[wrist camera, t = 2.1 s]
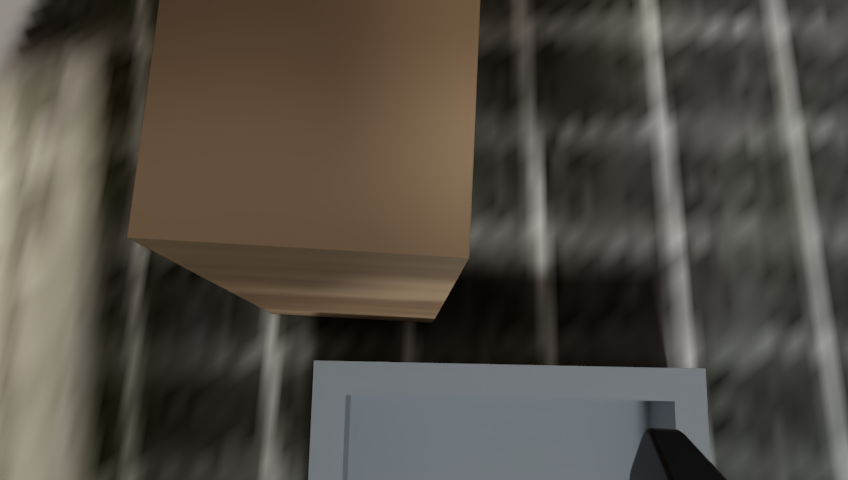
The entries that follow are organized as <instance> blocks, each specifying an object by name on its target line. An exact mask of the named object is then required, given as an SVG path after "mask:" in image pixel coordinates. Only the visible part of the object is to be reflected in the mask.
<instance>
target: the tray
mask: <svg viewBox="0 0 848 480" xmlns="http://www.w3.org/2000/svg"><path fill="white" fill-rule="evenodd" d="M648 428H667V429H677V430H679V431H681V432H682V433H684V434H685V435H686V436H687V437H688V438H689V439H690V441H691V442H692V443H693V444H694V445H695V446H696V447H697V448H698V449H699V450H700V451H701V452H702V454H703V455H704V456H705V457H706V458H707V459H708V460H709V461H710V445H709V427H708V408H707V389H706V371H705V369H698V368H650V367H603V366H555V365H507V364H460V363H412V362H364V361H317V360H314V369H313V389H312V410H311V431H310V451H309V472H308V480H629V479H630V471H631V467H632V464H633V461H634V458H635V455H636V452H637V449H638V447H639V444H640V441H641V438H642V435H643V433H644V432H645V430H647V429H648Z"/></svg>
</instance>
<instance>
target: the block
mask: <svg viewBox="0 0 848 480" xmlns="http://www.w3.org/2000/svg"><path fill="white" fill-rule="evenodd" d="M479 19H480V0H159V7H158V14H157V22H156V29H155V36H154V44H153V51H152V59H151V66H150V73H149V81H148V88H147V95H146V103H145V110H144V117H143V125H142V132H141V140H140V147H139V154H138V162H137V169H136V176H135V184H134V191H133V199H132V206H131V213H130V221H129V228H128V235H127V238H129V239H131V240H133V241H135V242H137V243H138V244H140V245H142V246H144V247H146V248H148V249H150V250H152V251H154V252H156V253H157V254H159V255H161V256H163V257H165V258H167V259H169V260H171V261H173V262H175V263H176V264H178V265H180V266H182V267H184V268H186V269H188V270H190V271H192V272H194V273H195V274H197V275H199V276H201V277H203V278H205V279H207V280H209V281H211V282H213V283H214V284H216V285H218V286H220V287H222V288H224V289H226V290H228V291H230V292H232V293H233V294H235V295H237V296H239V297H241V298H243V299H245V300H247V301H249V302H251V303H252V304H254V305H256V306H258V307H260V308H262V309H264V310H266V311H268V312H270V313H271V314H285V315H303V316H320V317H337V318H355V319H372V320H390V321H407V322H424V323H433V321H434V320H435V318H436V316H437V314H438V312H439V311H440V309H441V307H442V305H443V304H444V302H445V300H446V298H447V296H448V295H449V293H450V291H451V289H452V288H453V286H454V284H455V282H456V280H457V279H458V277H459V275H460V273H461V272H462V270H463V268H464V266H465V264H466V263H467V261H468V259H469V249H470V226H471V203H472V180H473V157H474V134H475V111H476V88H477V65H478V42H479Z"/></svg>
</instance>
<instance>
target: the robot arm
mask: <svg viewBox="0 0 848 480" xmlns="http://www.w3.org/2000/svg"><path fill="white" fill-rule="evenodd" d="M629 480H726V478H725V477H724V476H723V475H722V474H721V473H720V472H719V471H718V470H717V469H716V468H715V467H714V465H713V464H712V463H711V462H710V461H709V460H708V459H707V458H706V457H705V456H704V455H703V454H702V452H701V451H700V450H699V449H698V448H697V447H696V446H695V445H694V444H693V443H692V442H691V441H690V439H689V438H688V437H687V436H686V435H685V434H684V433H682V432H681V431H679V430H677V429H667V428H648V429H647V430H645V432H644V433H643V435H642V438H641V441H640V444H639V447H638V449H637V452H636V455H635V458H634V461H633V464H632V467H631V471H630V479H629Z"/></svg>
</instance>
